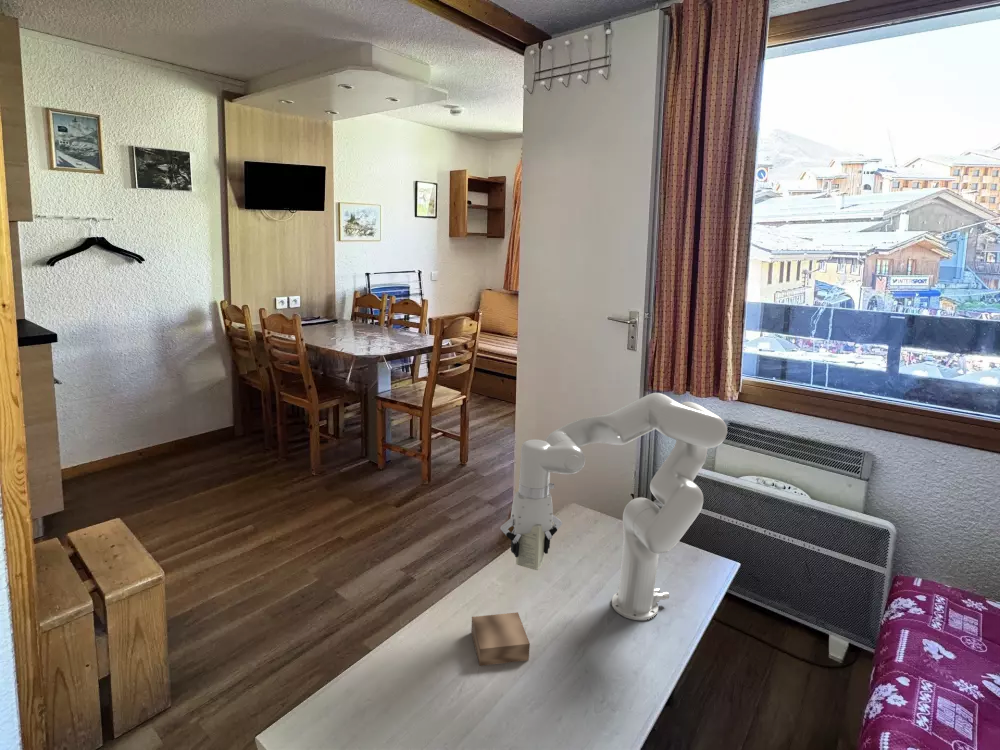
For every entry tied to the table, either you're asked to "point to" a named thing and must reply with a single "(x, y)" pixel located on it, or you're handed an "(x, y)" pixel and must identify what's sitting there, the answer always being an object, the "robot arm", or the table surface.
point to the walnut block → (499, 639)
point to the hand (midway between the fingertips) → (530, 552)
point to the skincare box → (531, 548)
